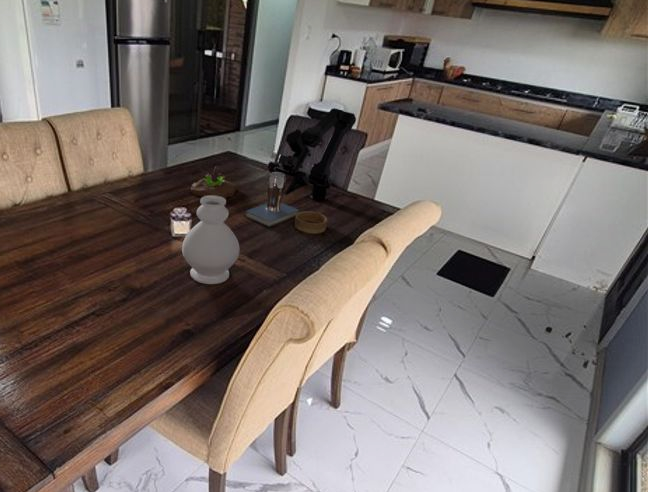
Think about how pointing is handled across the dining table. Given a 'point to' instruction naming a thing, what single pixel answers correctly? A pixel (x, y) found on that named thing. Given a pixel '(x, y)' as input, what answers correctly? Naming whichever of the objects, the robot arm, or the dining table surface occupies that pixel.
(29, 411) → the dining table surface
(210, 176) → the plant
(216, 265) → the decorative vase
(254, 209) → the book
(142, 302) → the dining table surface
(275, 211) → the beer glass
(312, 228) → the wooden bowl
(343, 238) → the dining table surface
